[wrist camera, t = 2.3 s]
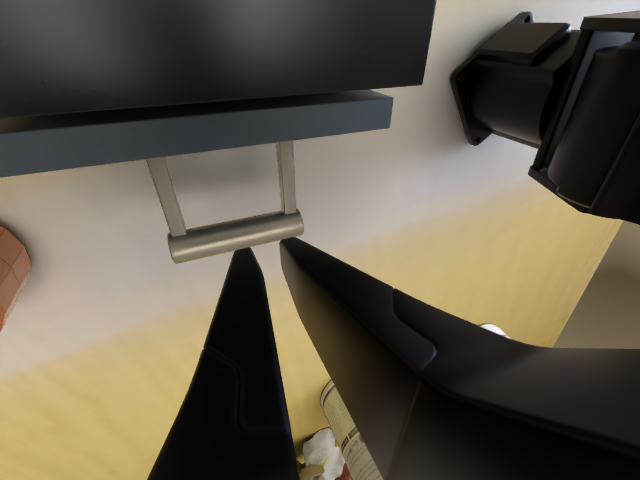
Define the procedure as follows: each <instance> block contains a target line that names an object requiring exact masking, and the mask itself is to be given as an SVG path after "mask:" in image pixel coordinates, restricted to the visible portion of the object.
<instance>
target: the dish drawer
mask: <svg viewBox="0 0 640 480" xmlns="http://www.w3.org/2000/svg"><path fill="white" fill-rule="evenodd" d="M392 106H393V97H390V96H387V95H384V94H381V93H378V92H375V91H372V90H369V89H368V90H355V91H343V92H330V93H318V94H305V95H292V96H280V97H267V98H255V99H242V100H229V101H217V102H204V103H192V104H179V105H166V106H154V107H141V108H129V109H116V110H104V111H91V112H78V113H66V114H53V115H41V116H28V117H15V118H3V119H0V177H8V176H16V175H24V174H32V173H40V172H48V171H55V170H63V169H71V168H79V167H87V166H95V165H103V164H111V163H118V162H126V161H134V160H142V159H146V161H147V164H148V167H149V170H150V173H151V176H152V179H153V182H154V185H155V188H156V191H157V194H158V197H159V200H160V203H161V206H162V209H163V212H164V215H165V218H166V221H167V224H168V227H169V230H170V233H168V235H167V239H168V245H169V249H170V253H171V256H172V259H173V261H174V263H175V264H178V263H182V262H186V261H191V260H195V259H199V258H204V257H208V256H213V255H217V254H221V253H226V252H230V251H234V250H238V249H242V248H246V247H252V246H256V245H261V244H265V243H269V242H274V241H278V240H282V239H286V238H290V237H295V236H300V235H302V234H303V231H304V226H303V220H302V216H301V214H300V211H299V210H298V209H297V208H296V193H295V173H294V154H293V140H300V139H308V138H315V137H323V136H331V135H339V134H347V133H355V132H363V131H371V130H378V129H386V128H390V122H391V114H392ZM268 143H276V149H277V161H278V173H279V185H280V197H281V209H282V211H277V212H272V213H267V214H262V215H257V216H252V217H247V218H242V219H237V220H232V221H227V222H222V223H217V224H212V225H207V226H202V227H197V228H192V229H187V230H186V226H185V223H184V220H183V216H182V213H181V210H180V206H179V203H178V199H177V196H176V193H175V189H174V186H173V182H172V179H171V176H170V172H169V169H168V165H167V162H166V159H165V157H166V156H174V155H181V154H189V153H197V152H205V151H213V150H221V149H229V148H237V147H245V146H252V145H260V144H268Z"/></svg>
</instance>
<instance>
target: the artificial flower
mask: <svg viewBox="0 0 640 480" xmlns="http://www.w3.org/2000/svg"><path fill="white" fill-rule="evenodd" d="M334 444H335V436H334V434H333V431H332V430H331V429H330V428H325V429H323V430H320V431H318V432H317V433H316V434H315V435H314V437H313V438H312V439H310V440H309V441H306V442H305V443H304V444H303V456H304V460H305V463H303V464H301V463H300V462H299V461H297V465H298V470H299V475H300V480H335V478H337V477H339V476H340V475H341V474H342V470H343V466H344V463H345V460H344V458H343V455H342V453H341V451H340V448H339V447H334Z"/></svg>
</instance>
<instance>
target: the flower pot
mask: <svg viewBox="0 0 640 480" xmlns="http://www.w3.org/2000/svg"><path fill="white" fill-rule="evenodd" d="M30 269H31V262H30V260H29V257H28V254H27V252H26V249H25V247H24V245H23V244H22V243H21V242H19V241H18V240H17V239H16V238H15V237H14V236H13V235H12V234H11V233H10V232H9V231H8V230H6V229H5V228H3V227H1V226H0V332H1V330H2V328H3V327H4V325H5V323H6V321H7V319H8V317H9V315H10V313H11V311H12V309H13V307H14V305H15V303H16V301H17V300H18V298H19V296H20V294H21V292H22V290H23V288H24V286H25V284H26V282H27V280H28V276H29V272H30Z"/></svg>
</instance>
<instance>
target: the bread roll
mask: <svg viewBox="0 0 640 480" xmlns="http://www.w3.org/2000/svg"><path fill="white" fill-rule="evenodd" d="M335 480H353V479H352V477H351V474H350V472H349V469H348V467H347V464H344V466H343V470H342V474H341V475H340V476H339V477H337V478H335Z"/></svg>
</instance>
